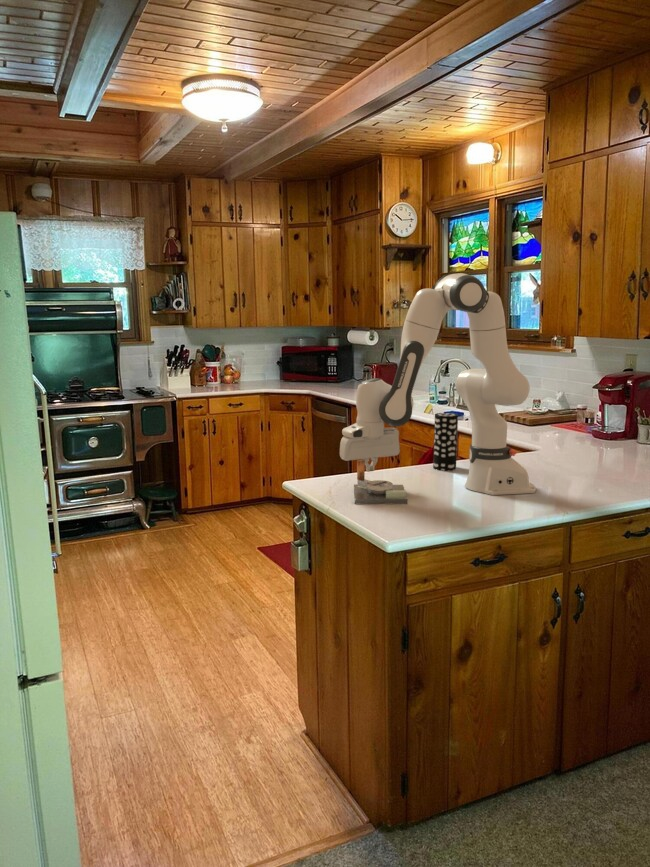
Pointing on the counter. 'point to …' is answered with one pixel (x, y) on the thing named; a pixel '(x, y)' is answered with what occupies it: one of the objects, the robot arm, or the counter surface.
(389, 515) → the counter surface
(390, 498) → the plate
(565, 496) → the counter surface
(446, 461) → the spotted tube
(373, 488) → the copper silver knob
